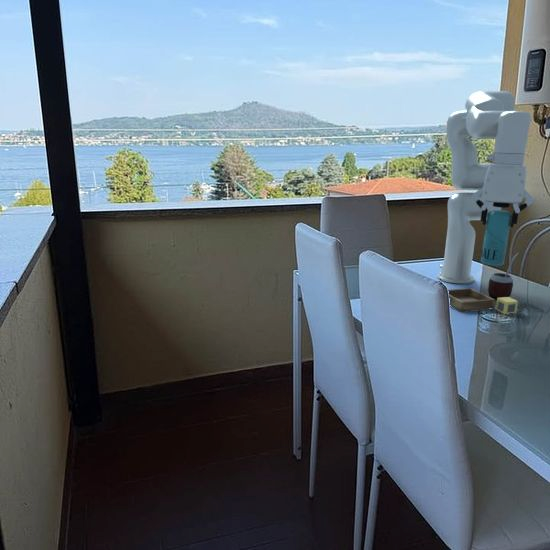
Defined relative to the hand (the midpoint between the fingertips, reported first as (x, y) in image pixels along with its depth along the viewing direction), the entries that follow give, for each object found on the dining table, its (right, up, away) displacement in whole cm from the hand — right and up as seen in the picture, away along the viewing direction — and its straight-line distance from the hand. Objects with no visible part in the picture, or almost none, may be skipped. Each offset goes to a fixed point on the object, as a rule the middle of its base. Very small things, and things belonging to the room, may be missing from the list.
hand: (497, 224), depth 130 cm
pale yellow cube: (+7, -25, +9) cm, 28 cm away
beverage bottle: (0, -12, +4) cm, 13 cm away
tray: (-3, -23, +15) cm, 28 cm away
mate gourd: (+10, -22, +20) cm, 32 cm away
